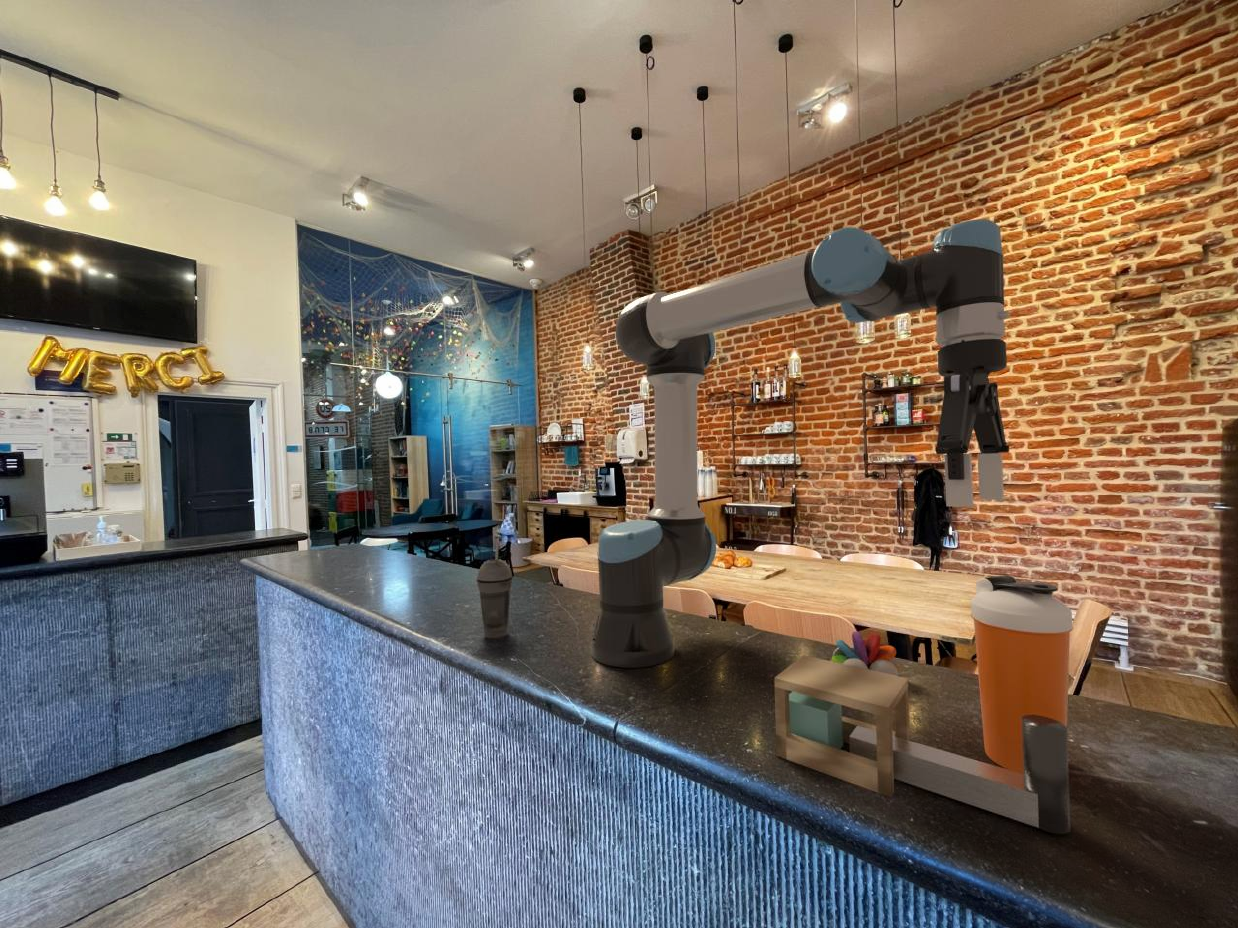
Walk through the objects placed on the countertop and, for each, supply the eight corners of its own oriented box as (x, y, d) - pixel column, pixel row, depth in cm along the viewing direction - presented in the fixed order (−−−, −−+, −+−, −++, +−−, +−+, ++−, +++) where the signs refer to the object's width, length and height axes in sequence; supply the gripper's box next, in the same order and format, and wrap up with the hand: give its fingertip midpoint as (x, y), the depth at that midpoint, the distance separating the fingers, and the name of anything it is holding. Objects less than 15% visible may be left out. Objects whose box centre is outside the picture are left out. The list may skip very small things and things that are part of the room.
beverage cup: (498, 626, 110) (495, 534, 110) (521, 632, 106) (519, 536, 106) (470, 636, 104) (467, 538, 104) (494, 643, 100) (491, 541, 100)
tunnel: (776, 755, 59) (774, 677, 59) (805, 724, 66) (803, 654, 66) (891, 797, 51) (888, 707, 51) (910, 757, 58) (907, 678, 58)
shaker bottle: (1047, 794, 51) (1041, 594, 51) (957, 750, 59) (952, 577, 59) (1095, 771, 54) (1089, 584, 55) (1004, 732, 63) (999, 569, 63)
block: (785, 749, 60) (784, 698, 60) (801, 732, 64) (800, 684, 64) (828, 764, 57) (827, 711, 57) (842, 745, 61) (841, 695, 61)
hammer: (849, 763, 56) (847, 682, 56) (858, 750, 59) (856, 673, 59) (1070, 839, 44) (1067, 736, 44) (1069, 819, 47) (1066, 721, 47)
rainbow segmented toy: (908, 692, 74) (906, 642, 74) (837, 688, 76) (835, 640, 76) (889, 669, 82) (888, 624, 83) (826, 666, 84) (824, 622, 84)
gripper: (974, 321, 57) (981, 511, 57) (1028, 349, 73) (1034, 497, 73) (902, 336, 63) (909, 508, 62) (967, 359, 79) (972, 496, 78)
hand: (976, 503), depth 68 cm, fingers open, 13 cm apart
